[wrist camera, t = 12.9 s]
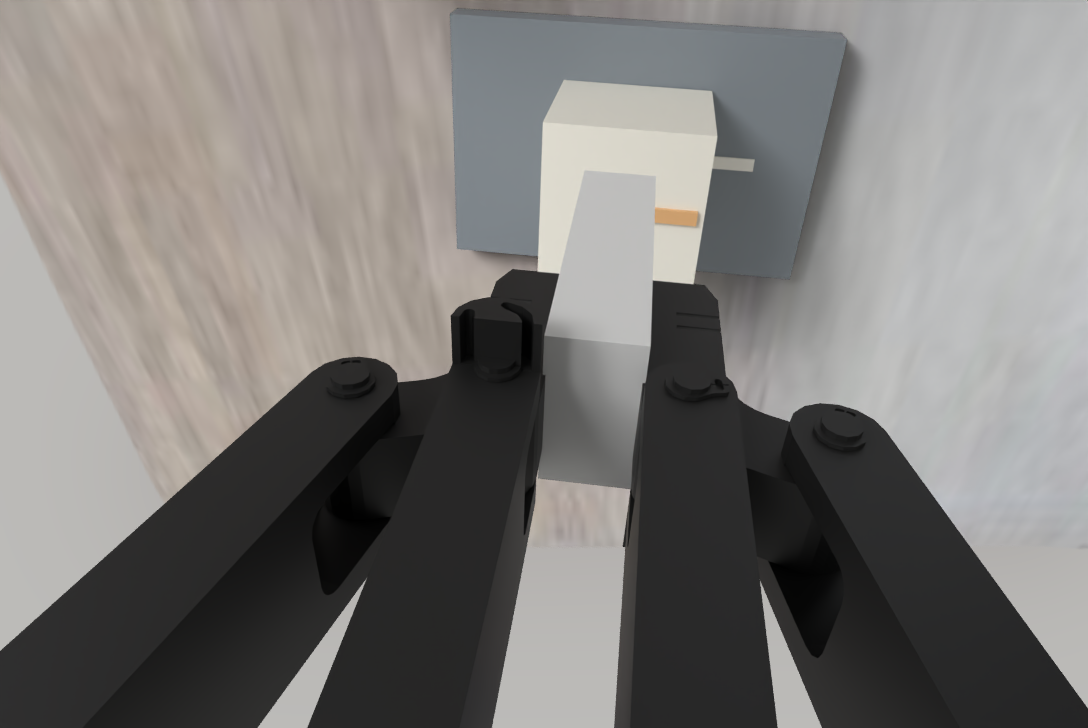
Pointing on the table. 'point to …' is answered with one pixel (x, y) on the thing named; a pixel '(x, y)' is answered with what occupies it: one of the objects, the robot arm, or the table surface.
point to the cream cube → (630, 163)
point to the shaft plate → (646, 60)
